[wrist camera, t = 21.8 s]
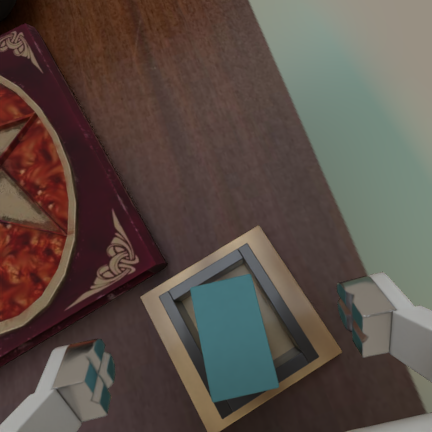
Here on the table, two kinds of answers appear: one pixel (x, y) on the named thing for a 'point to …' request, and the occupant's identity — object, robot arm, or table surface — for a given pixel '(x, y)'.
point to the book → (57, 205)
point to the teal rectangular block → (233, 338)
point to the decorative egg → (6, 8)
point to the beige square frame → (271, 314)
